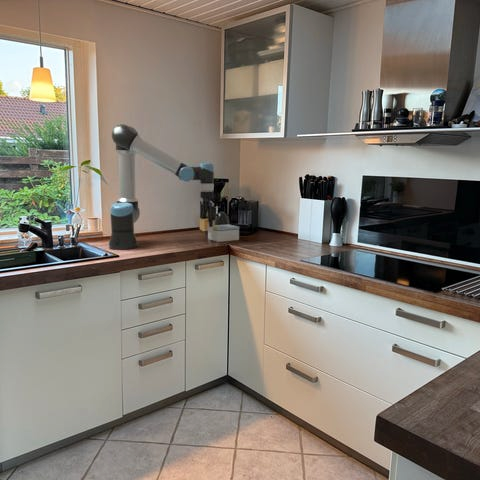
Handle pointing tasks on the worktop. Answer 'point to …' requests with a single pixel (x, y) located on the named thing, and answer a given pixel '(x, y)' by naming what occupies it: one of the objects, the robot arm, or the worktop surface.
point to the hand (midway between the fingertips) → (207, 231)
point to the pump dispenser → (221, 219)
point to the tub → (224, 235)
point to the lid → (216, 226)
